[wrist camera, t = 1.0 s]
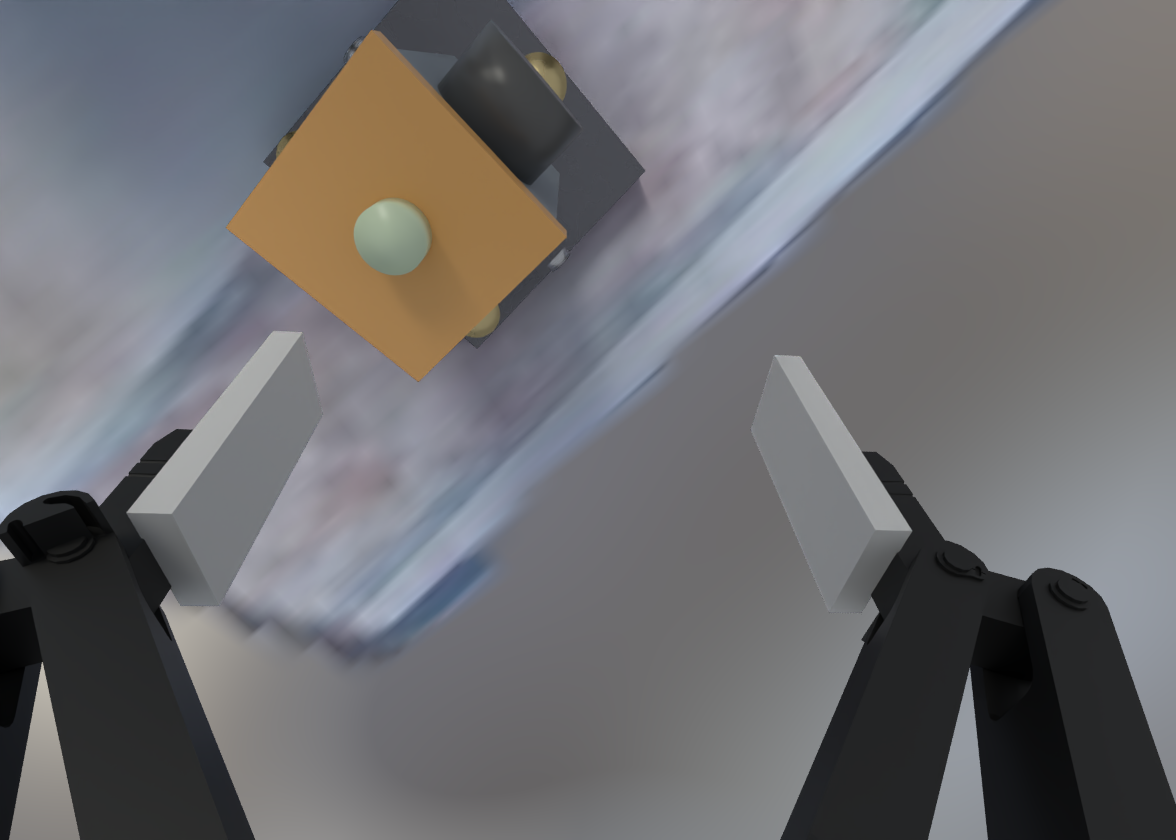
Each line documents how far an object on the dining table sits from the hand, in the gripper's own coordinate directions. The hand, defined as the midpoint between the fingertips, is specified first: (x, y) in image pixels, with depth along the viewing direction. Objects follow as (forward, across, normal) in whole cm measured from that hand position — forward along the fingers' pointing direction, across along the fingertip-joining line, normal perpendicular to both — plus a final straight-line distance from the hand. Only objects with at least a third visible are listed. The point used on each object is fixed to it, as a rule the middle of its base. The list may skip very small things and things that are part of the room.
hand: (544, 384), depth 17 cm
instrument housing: (+22, -4, +1) cm, 23 cm away
